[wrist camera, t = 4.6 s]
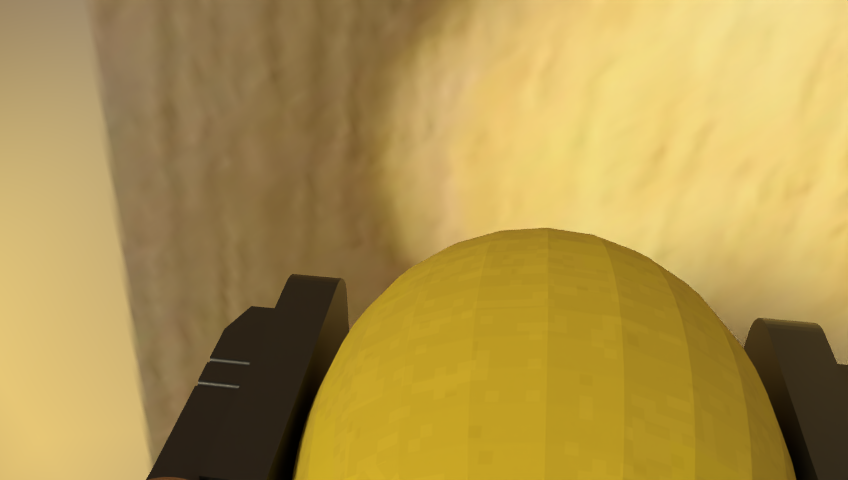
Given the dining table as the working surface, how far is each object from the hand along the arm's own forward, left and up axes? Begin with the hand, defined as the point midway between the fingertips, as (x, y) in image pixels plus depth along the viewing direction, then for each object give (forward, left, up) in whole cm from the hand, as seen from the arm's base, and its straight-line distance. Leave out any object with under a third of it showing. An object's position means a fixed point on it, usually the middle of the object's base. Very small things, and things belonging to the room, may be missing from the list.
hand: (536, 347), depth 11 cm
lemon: (0, 0, -2) cm, 2 cm away
